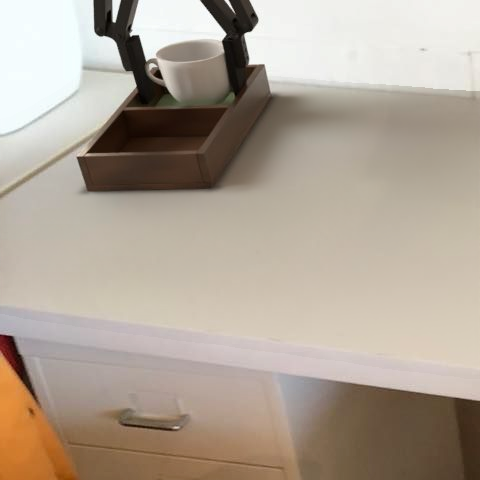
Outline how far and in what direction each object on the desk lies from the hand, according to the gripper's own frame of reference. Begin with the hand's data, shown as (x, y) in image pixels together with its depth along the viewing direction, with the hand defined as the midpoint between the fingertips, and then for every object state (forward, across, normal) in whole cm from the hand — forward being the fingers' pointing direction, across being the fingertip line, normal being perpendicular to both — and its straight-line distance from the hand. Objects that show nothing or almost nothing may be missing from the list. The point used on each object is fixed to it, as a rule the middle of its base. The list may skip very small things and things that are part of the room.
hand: (195, 98), depth 145 cm
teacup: (0, 0, 0) cm, 0 cm away
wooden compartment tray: (+2, 0, +6) cm, 6 cm away
